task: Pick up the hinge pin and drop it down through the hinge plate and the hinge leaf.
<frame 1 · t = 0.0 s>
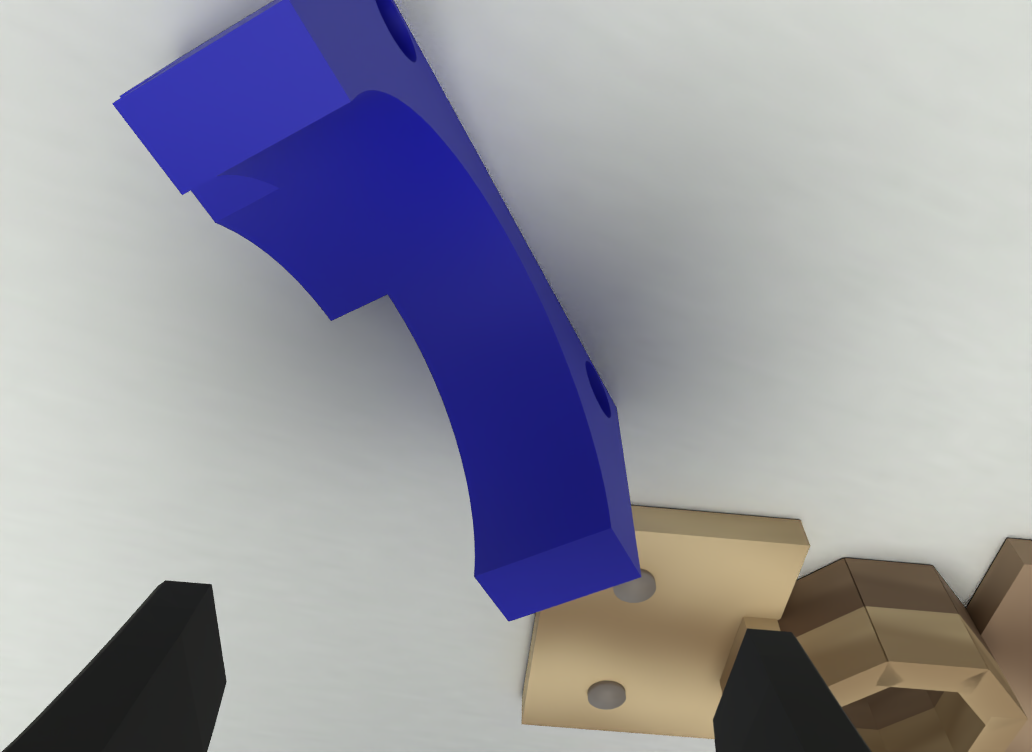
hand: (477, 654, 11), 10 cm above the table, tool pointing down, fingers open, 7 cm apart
hinge plate: (853, 633, 26), on the table
hinge leaf: (853, 633, 26), on the table
cable clip: (425, 247, 19), on the table
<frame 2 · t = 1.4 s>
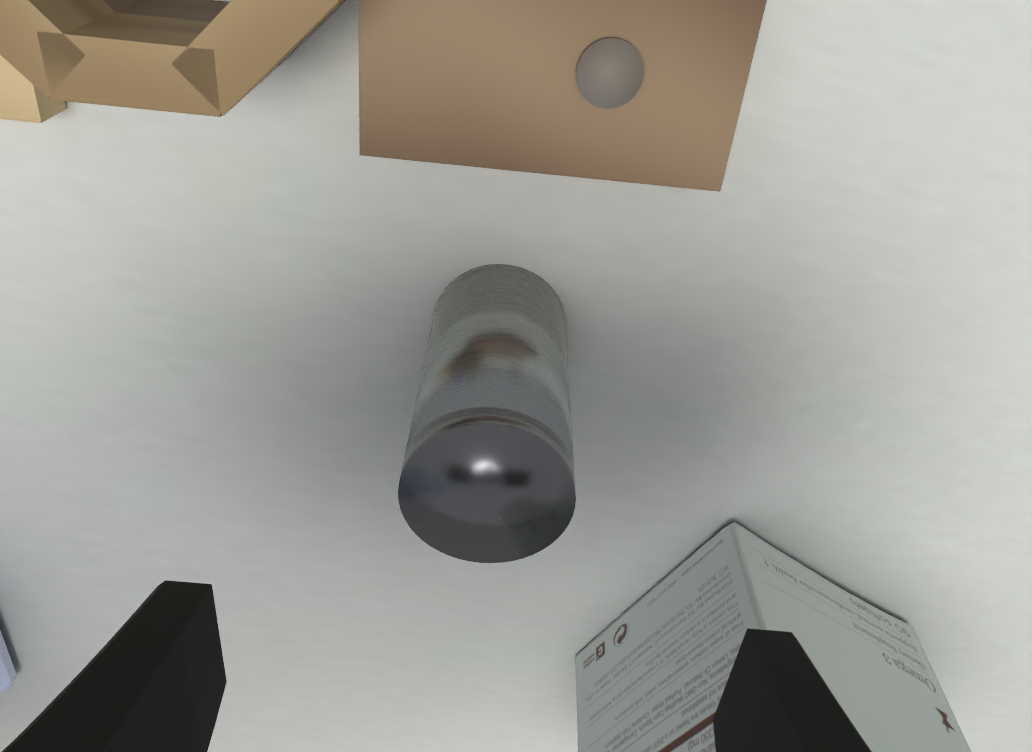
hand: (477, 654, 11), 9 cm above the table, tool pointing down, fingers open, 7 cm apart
hinge pin: (499, 323, 19), on the table
supplement box: (735, 631, 25), on the table
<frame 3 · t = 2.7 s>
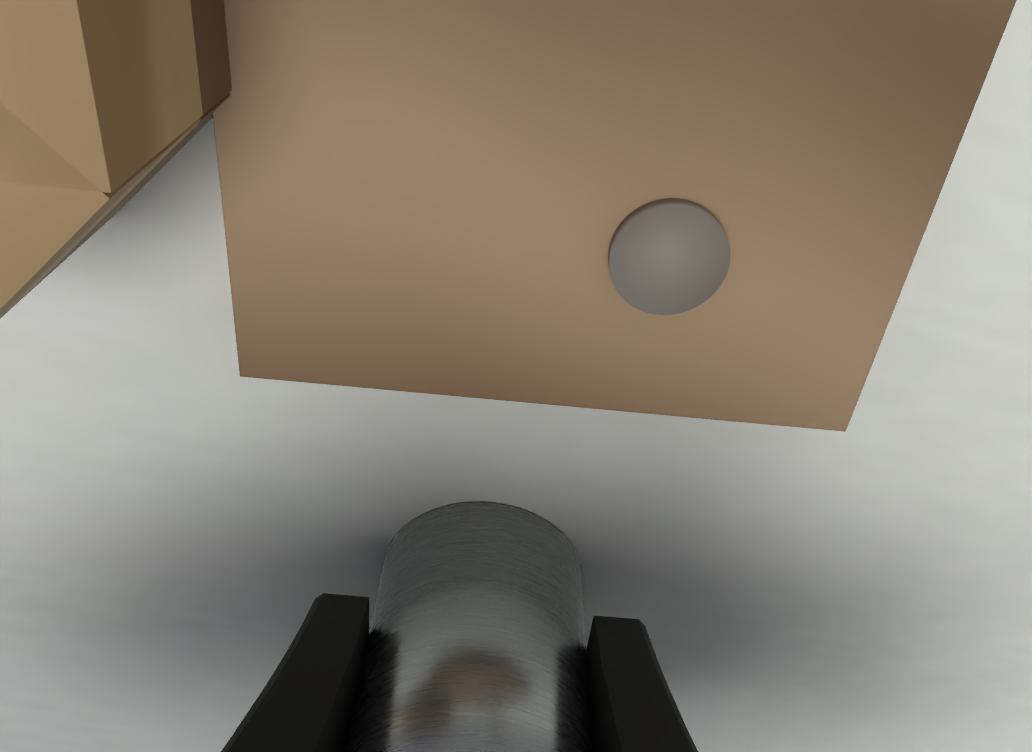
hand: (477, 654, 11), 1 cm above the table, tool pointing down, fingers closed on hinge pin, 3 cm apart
hinge pin: (482, 576, 13), on the table, touching gripper
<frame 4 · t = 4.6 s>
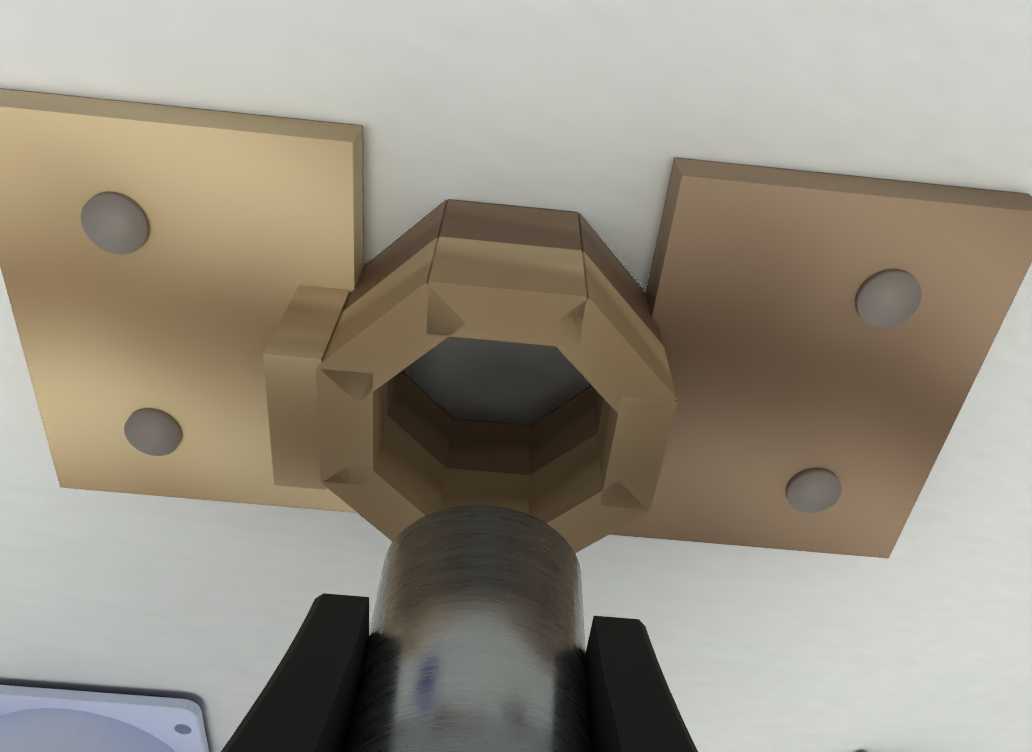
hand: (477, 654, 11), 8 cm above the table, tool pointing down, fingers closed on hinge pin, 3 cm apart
hinge pin: (482, 578, 13), point 7 cm above the table, touching gripper
hinge plate: (499, 342, 18), on the table
hinge leaf: (499, 342, 18), on the table
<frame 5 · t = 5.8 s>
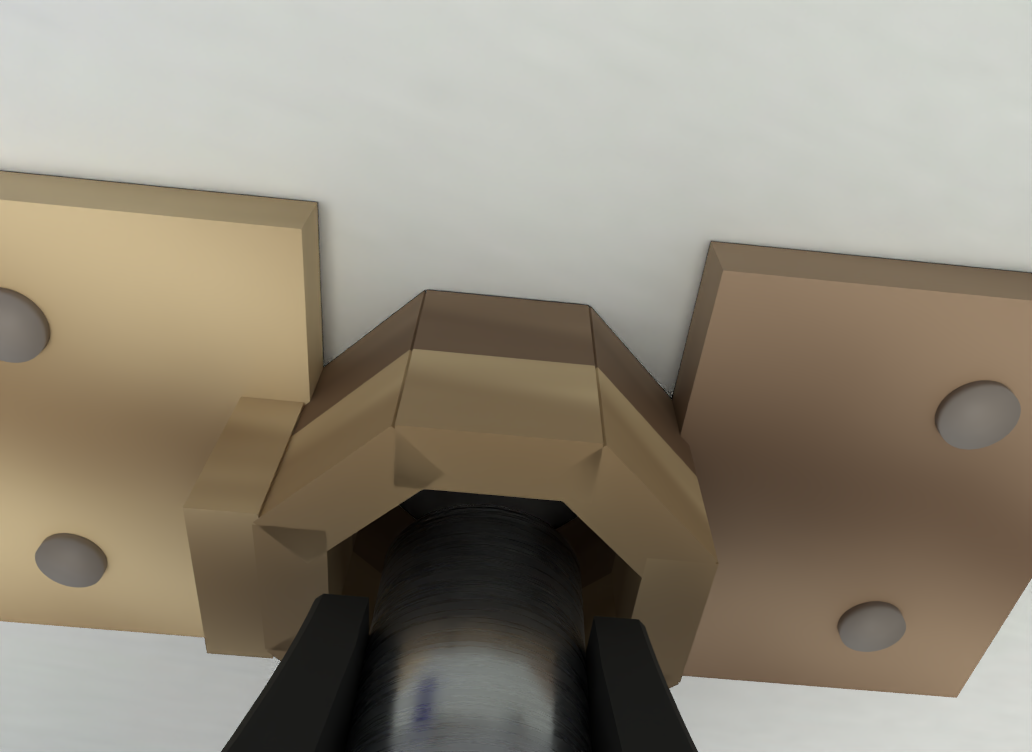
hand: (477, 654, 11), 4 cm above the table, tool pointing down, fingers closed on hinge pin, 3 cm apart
hinge pin: (482, 578, 13), point 3 cm above the table, touching gripper
hinge plate: (491, 453, 15), on the table
hinge leaf: (491, 453, 15), on the table
when the fingers open (4 cm above the table, at t = 6.4 s): hinge pin drops 3 cm, resting in hinge plate.
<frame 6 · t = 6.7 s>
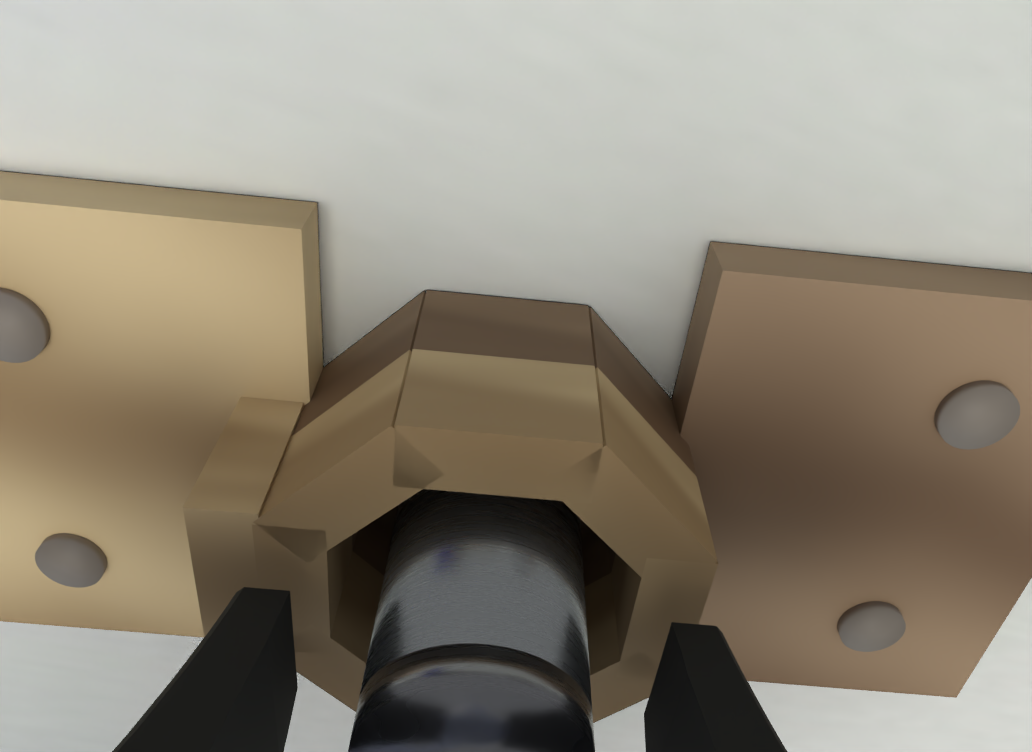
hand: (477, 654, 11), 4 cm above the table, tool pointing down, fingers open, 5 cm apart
hinge pin: (493, 454, 15), resting in hinge plate
hinge plate: (491, 453, 15), on the table
hinge leaf: (491, 453, 15), on the table
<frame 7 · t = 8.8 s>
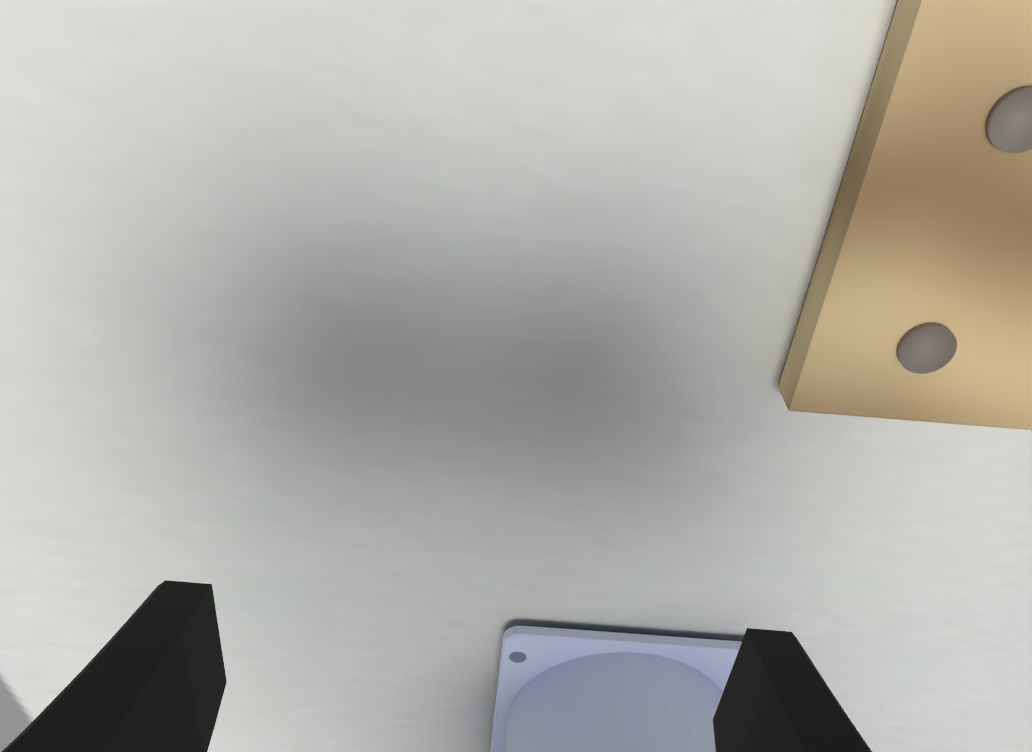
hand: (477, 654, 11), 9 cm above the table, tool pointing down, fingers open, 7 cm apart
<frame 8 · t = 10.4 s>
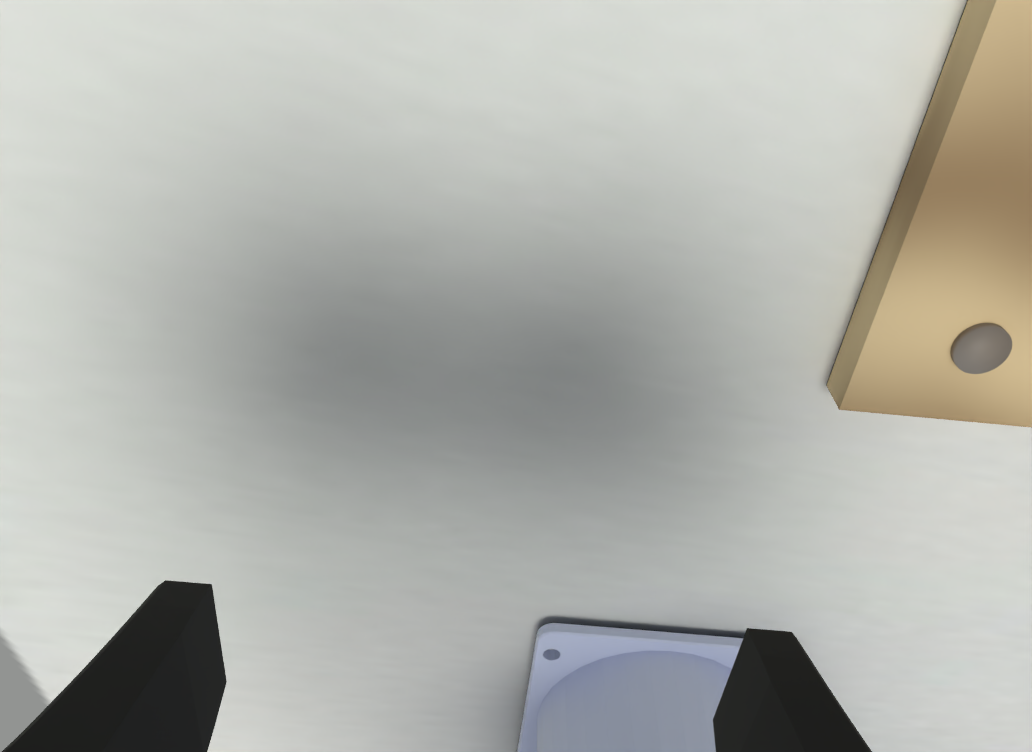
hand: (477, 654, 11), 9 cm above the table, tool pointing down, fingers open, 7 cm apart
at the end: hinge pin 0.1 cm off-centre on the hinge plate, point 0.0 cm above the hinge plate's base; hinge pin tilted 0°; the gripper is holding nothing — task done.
